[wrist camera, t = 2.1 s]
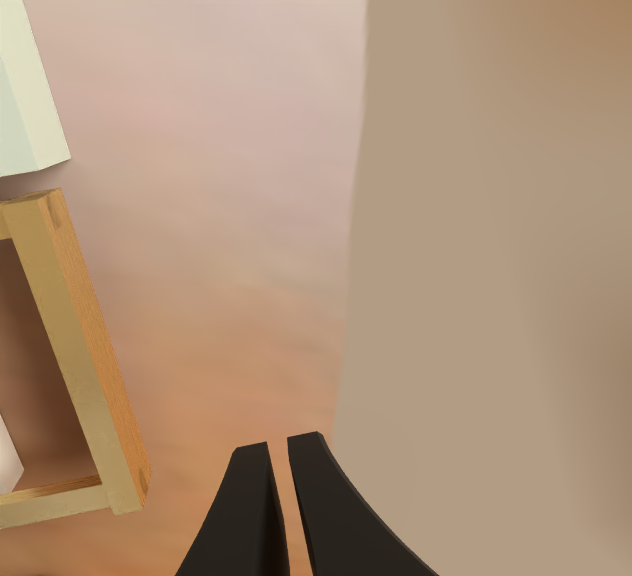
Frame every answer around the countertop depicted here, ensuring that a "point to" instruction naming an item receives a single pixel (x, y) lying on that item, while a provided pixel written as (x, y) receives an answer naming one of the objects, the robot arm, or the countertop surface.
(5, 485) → the socket block
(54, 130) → the square cutout plate
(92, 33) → the countertop surface
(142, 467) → the gold rectangular frame
